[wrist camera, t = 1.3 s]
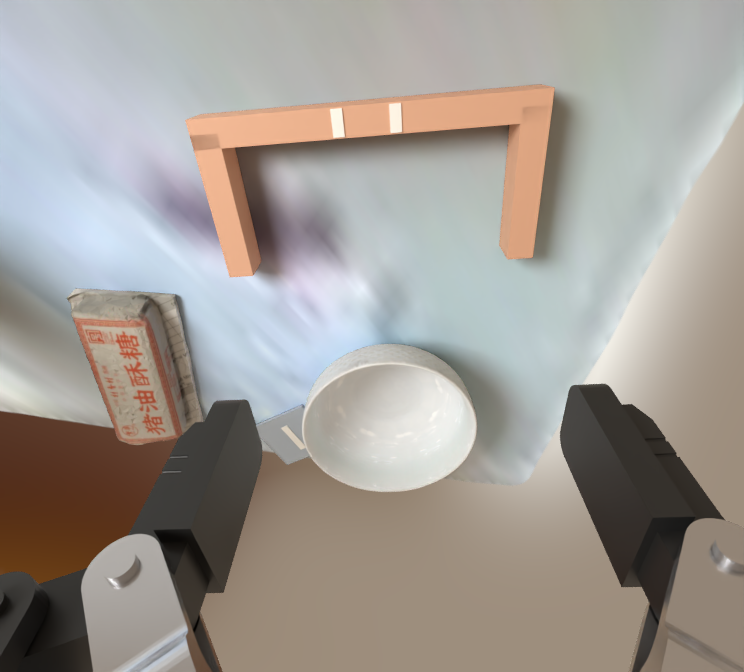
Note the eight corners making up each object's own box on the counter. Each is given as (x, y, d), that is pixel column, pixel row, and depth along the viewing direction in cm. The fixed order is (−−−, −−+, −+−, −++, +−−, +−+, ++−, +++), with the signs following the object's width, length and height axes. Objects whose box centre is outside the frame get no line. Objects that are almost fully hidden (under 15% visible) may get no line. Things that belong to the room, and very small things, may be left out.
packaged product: (40, 309, 38) (156, 316, 38) (73, 284, 42) (178, 290, 42) (100, 454, 48) (192, 458, 48) (122, 422, 52) (207, 426, 52)
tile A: (287, 462, 54) (287, 465, 54) (252, 426, 51) (251, 429, 50) (335, 443, 52) (335, 446, 52) (302, 404, 49) (301, 407, 48)
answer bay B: (522, 243, 38) (533, 258, 35) (239, 262, 39) (229, 277, 37) (540, 84, 31) (555, 87, 29) (200, 114, 33) (184, 120, 30)
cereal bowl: (458, 443, 52) (468, 494, 46) (317, 442, 52) (309, 493, 46) (475, 320, 42) (490, 365, 36) (303, 320, 43) (290, 364, 37)
